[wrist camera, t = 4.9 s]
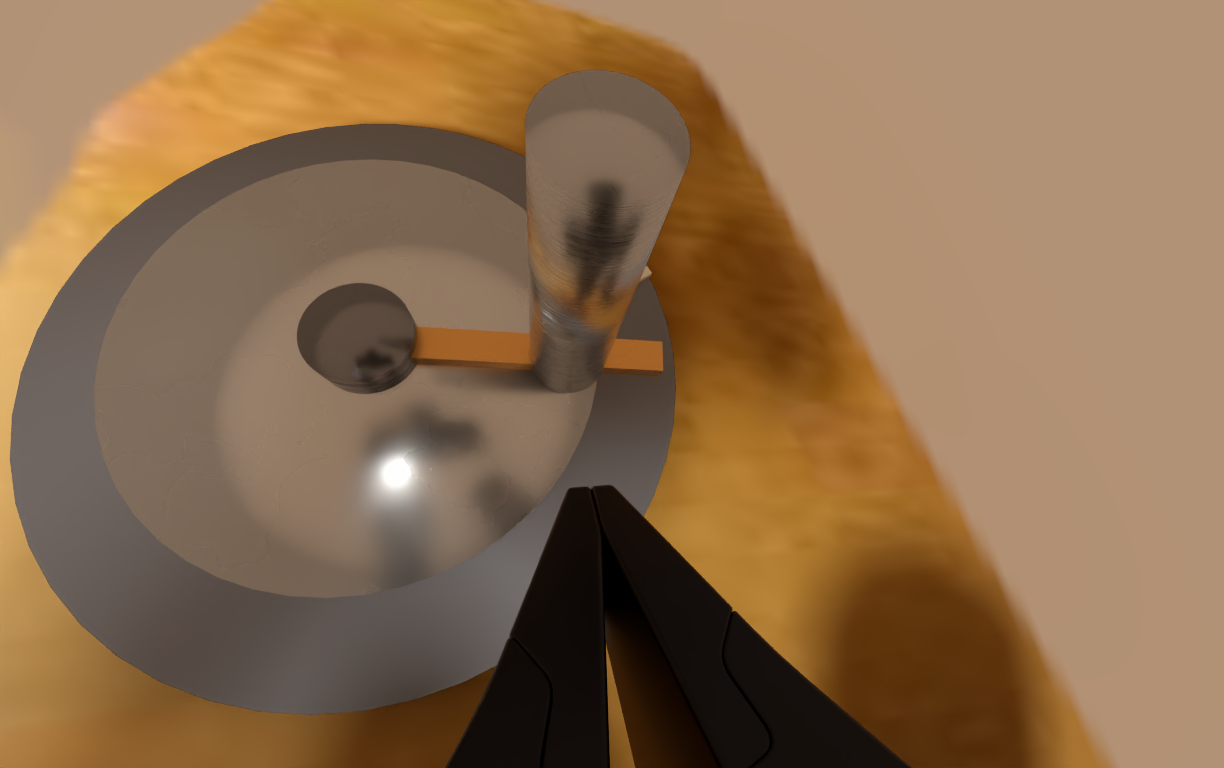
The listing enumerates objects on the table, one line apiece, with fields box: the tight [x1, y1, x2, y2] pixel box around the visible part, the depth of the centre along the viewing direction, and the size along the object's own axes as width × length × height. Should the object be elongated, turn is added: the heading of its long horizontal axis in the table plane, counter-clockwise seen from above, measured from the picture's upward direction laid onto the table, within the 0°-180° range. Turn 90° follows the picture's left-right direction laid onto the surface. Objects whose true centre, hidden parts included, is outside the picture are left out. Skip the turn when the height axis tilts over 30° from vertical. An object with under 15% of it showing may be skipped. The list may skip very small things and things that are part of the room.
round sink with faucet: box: [94, 70, 690, 598], centre depth 11 cm, size 16×14×10 cm
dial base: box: [10, 124, 676, 715], centre depth 16 cm, size 20×20×2 cm
